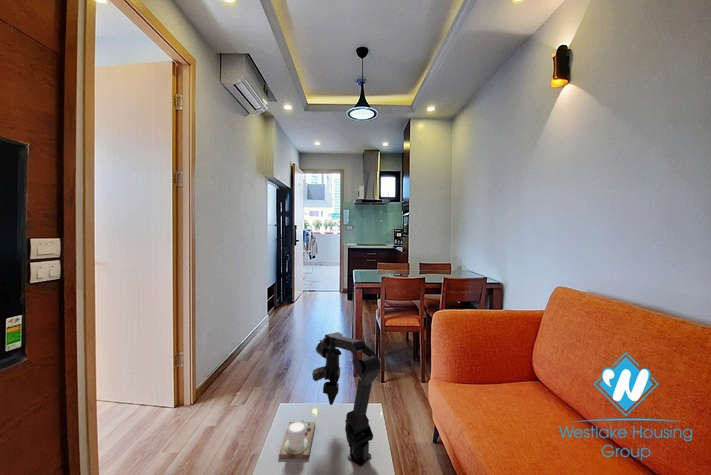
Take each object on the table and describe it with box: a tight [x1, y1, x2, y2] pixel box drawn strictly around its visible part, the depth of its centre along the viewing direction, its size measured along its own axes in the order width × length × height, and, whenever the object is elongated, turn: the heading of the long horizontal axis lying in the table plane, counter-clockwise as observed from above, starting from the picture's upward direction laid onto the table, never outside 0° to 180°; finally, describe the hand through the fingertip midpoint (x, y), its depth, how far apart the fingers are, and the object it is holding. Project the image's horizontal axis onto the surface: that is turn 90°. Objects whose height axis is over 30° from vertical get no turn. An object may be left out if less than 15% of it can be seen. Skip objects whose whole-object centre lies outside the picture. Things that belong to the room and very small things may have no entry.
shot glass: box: [287, 420, 306, 450], centre depth 110 cm, size 7×7×7 cm
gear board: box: [278, 419, 316, 460], centre depth 114 cm, size 11×18×4 cm, turn 0°
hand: (331, 398), depth 123 cm, fingers open, 9 cm apart
